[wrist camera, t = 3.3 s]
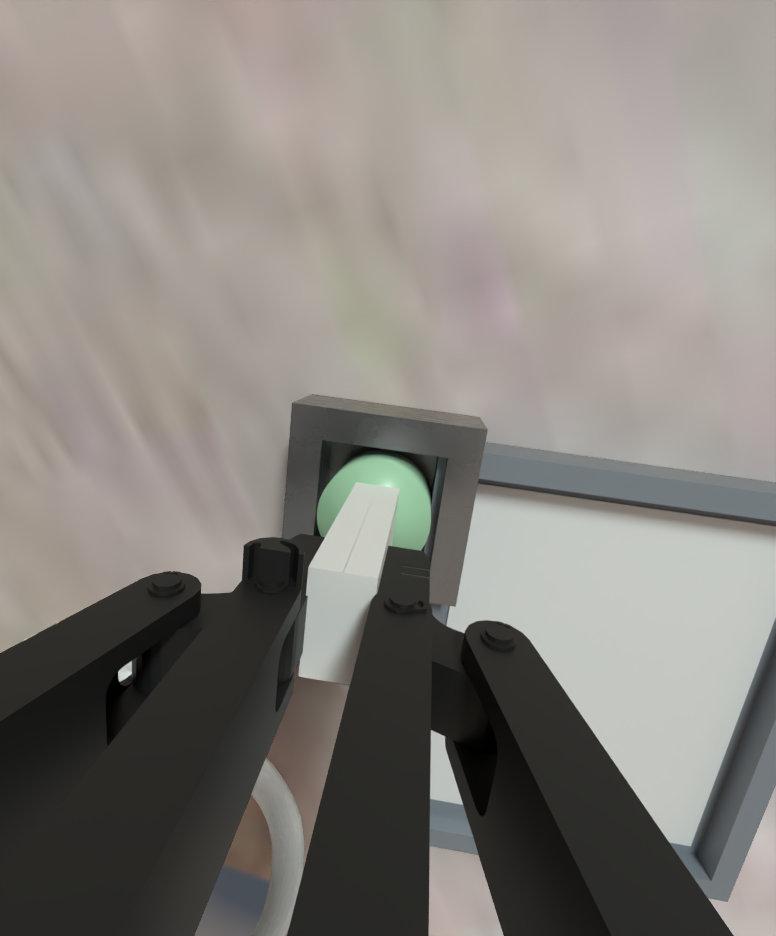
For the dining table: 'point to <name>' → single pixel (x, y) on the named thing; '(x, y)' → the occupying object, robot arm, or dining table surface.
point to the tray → (635, 632)
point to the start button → (383, 472)
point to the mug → (274, 844)
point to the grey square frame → (397, 430)
